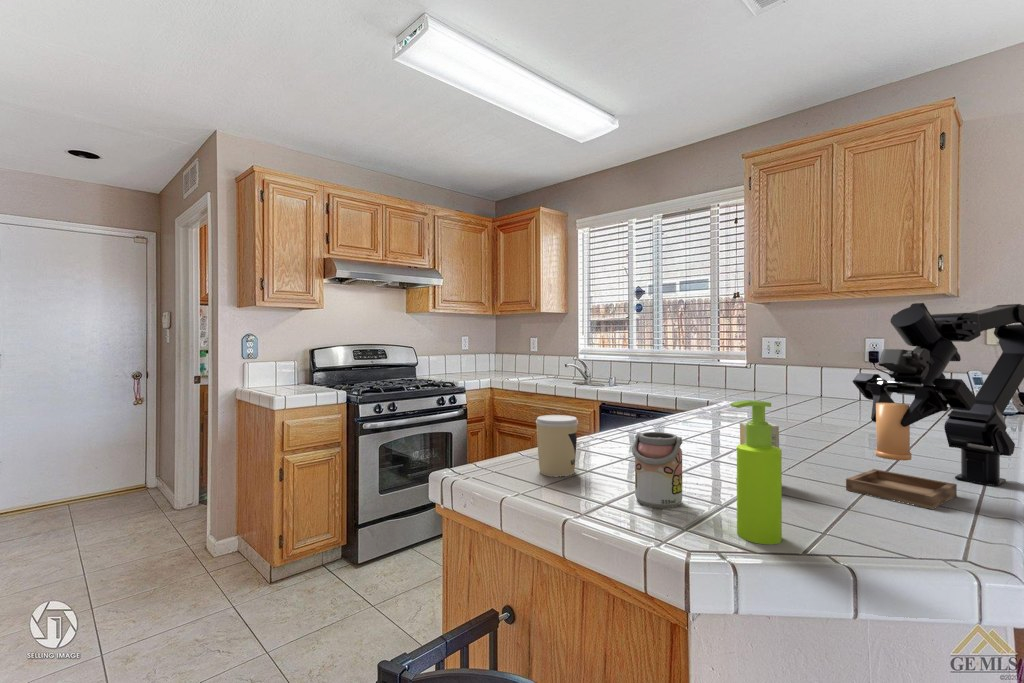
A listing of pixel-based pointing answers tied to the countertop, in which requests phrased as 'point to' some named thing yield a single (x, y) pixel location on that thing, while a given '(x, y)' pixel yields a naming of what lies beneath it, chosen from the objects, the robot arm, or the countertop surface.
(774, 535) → the soap dispenser
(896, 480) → the walnut tray
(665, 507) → the printed pail with handle
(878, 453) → the peach dome-topped cylinder
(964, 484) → the countertop surface
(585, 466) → the countertop surface
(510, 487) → the countertop surface
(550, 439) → the coffee cup
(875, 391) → the robot arm
